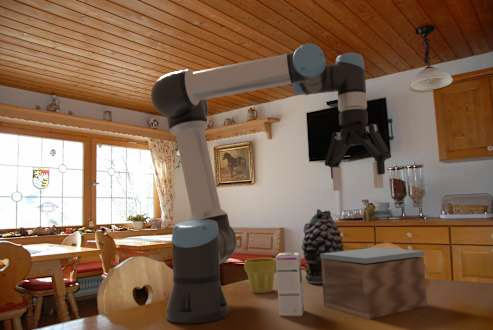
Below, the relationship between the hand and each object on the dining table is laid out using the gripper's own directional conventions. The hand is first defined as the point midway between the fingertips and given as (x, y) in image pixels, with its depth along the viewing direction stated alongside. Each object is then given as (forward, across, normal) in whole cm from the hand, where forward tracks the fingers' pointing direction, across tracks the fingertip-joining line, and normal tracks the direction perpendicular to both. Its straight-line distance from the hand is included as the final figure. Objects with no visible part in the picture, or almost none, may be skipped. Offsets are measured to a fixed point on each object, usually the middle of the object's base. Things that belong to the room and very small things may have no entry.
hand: (357, 189), depth 108 cm
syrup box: (+30, +8, +18) cm, 36 cm away
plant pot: (+30, +34, +7) cm, 46 cm away
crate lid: (+18, -2, -2) cm, 18 cm away
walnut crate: (+30, -2, -2) cm, 30 cm away
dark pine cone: (+30, +33, -20) cm, 49 cm away
